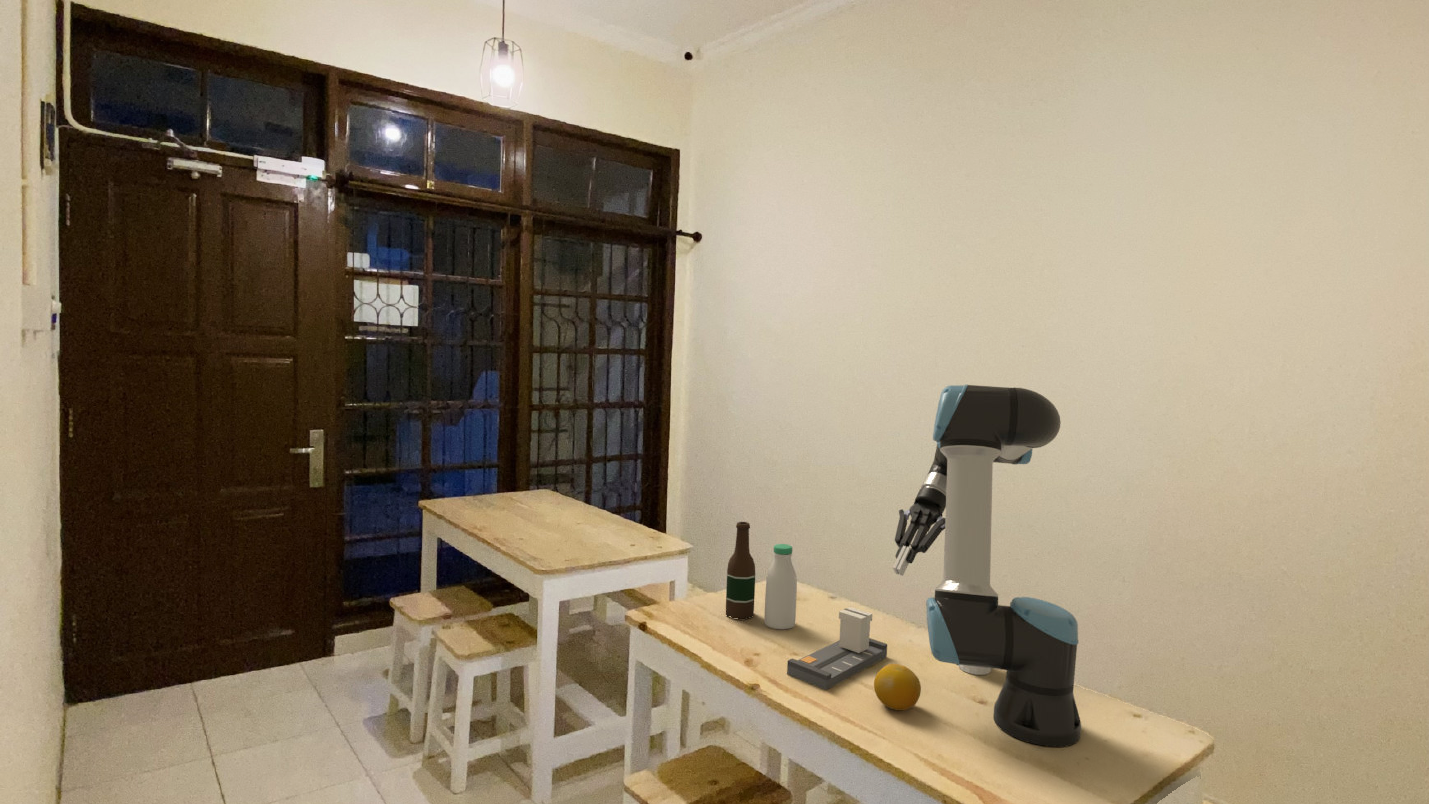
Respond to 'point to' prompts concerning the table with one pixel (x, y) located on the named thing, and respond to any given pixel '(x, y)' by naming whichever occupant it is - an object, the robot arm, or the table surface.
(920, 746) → the table surface
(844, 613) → the fader knob
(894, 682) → the fruit
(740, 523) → the beer bottle
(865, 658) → the slider console
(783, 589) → the milk bottle
